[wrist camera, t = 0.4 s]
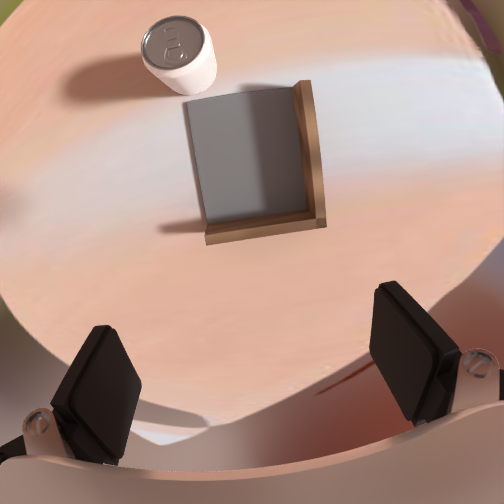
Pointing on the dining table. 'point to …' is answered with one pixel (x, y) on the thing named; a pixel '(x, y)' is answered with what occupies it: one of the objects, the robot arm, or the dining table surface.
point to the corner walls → (312, 183)
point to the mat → (248, 154)
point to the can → (180, 54)
